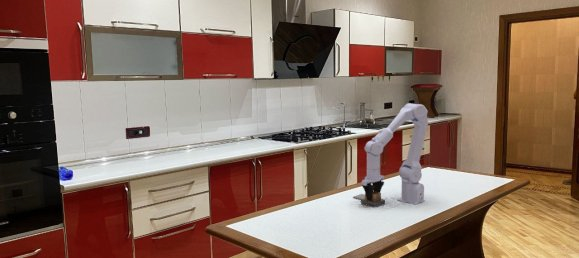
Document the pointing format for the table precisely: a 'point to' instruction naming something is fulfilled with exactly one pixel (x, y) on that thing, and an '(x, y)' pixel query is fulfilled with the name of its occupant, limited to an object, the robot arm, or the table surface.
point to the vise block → (372, 203)
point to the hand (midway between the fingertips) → (372, 198)
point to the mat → (359, 196)
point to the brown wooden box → (375, 196)
